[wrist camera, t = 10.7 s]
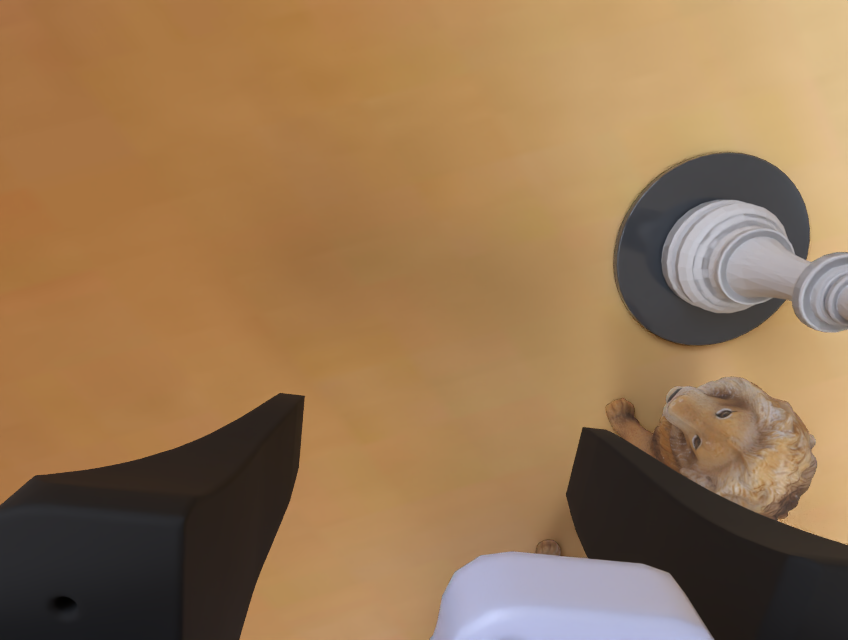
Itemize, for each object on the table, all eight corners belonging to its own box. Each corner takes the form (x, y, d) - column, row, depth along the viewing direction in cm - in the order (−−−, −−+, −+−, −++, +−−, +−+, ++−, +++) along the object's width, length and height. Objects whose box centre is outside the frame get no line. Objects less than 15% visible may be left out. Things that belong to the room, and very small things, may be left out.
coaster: (768, 352, 24) (774, 355, 24) (594, 331, 24) (597, 334, 23) (830, 166, 22) (838, 167, 21) (639, 139, 21) (643, 139, 21)
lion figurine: (607, 313, 24) (725, 405, 15) (721, 336, 24) (898, 438, 15) (520, 585, 28) (572, 780, 19) (618, 600, 28) (713, 796, 20)
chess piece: (783, 263, 23) (1062, 343, 13) (691, 324, 23) (891, 444, 14) (735, 176, 21) (1002, 193, 12) (639, 242, 22) (819, 310, 12)
